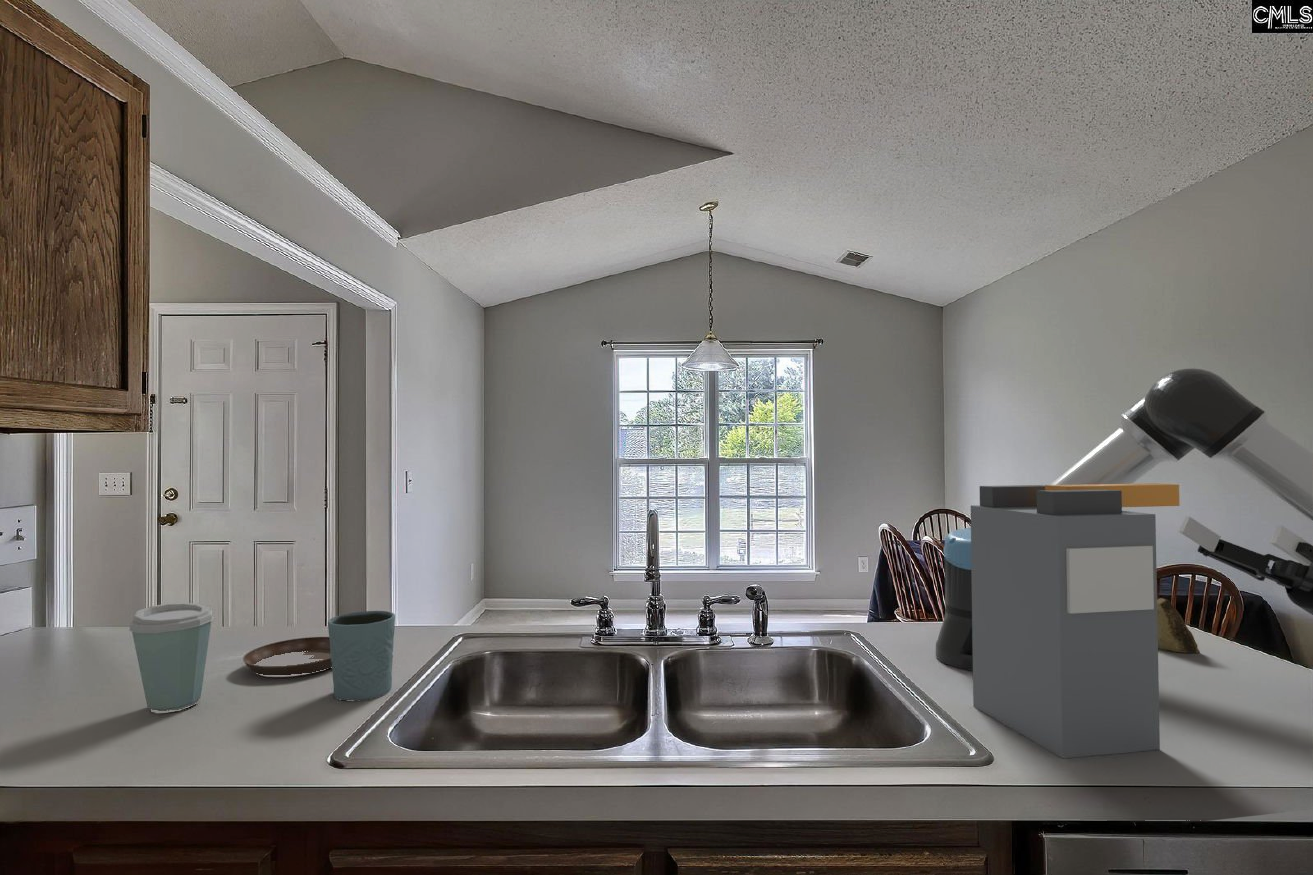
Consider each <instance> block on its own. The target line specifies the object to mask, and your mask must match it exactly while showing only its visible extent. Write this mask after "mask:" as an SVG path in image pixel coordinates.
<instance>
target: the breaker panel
mask: <svg viewBox="0 0 1313 875" xmlns="http://www.w3.org/2000/svg"><path fill="white" fill-rule="evenodd" d="M1045 485H1046V484H1033V485H1032V484H1030V485H1028V484H1027V485H1025V484H1023V485H1022V484H1021V485H1020V484H1019V485H1018V484H1017V485H979V505H977V504H976V505H970V528H971V572H972V643H973V671H972V692H973V693H972V694H973V695H972V696H973V697H972V701H973V703H972V706H973V707H974V708H976V709H977V710H980V711H981V712H983V713H984V714H986V715H988V716H989V717H991V718H993V719H994V720H996V721H998V722H1000V723H1001V724H1003V725H1005V726H1006V727H1008V728H1010V729H1011V730H1013V731H1015V732H1017V733H1018V734H1020V735H1022V736H1024V738H1027V739H1029V740H1031V741H1032V742H1033V743H1035V744H1037V745H1039V746H1041V747H1042V748H1044V749H1045V750H1047V751H1049V752H1051V753H1052V754H1054V755H1056V756H1058V758H1059V757H1060V758H1061V759H1071V758H1084V757H1093V756H1102V755H1103V756H1105V755H1114V754H1124V753H1125V754H1126V753H1136V752H1138V753H1139V752H1148V751H1159V750H1161V745H1160V744H1161V742H1160V732H1161V731H1160V686H1159V676H1160V675H1159V648H1158V623H1157V600H1158V585H1157V584H1158V583H1157V578H1158V577H1157V531H1156V530H1157V529H1156V527H1157V526H1156V523H1157V522H1156V513H1147V512H1137V511H1128V510H1123V507H1122V491H1120V490H1105V489H1096V490H1045Z"/></svg>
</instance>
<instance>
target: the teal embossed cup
mask: <svg viewBox="0 0 1313 875" xmlns="http://www.w3.org/2000/svg"><path fill="white" fill-rule="evenodd" d="M395 628H396V614H395V613H394V612H392V611H387V610H365V611H356V612H351V613H345V614H343V613H342V614H341V615H336V616H334V617H330V619H328V620H327V631H328V637H329V639H330V653H331V662H332V668H331V672H332V673H331V674H332V681H333V695H334V698H335V697H336V698H338V699H341V700H362V701H368V699H369V700H372V699H371V698H374V699H376V697H377V698H379V697H378V696H380V697H382V696H384V695H387V694H388V693H390V691H391V690H392V686H393V675H392V674H393V660H394V659H393V658H394V655H393V653H394V639H395V638H394V637H395ZM386 693H387V694H386ZM336 698H335V699H336ZM338 699H337V700H338ZM341 700H340V701H341Z"/></svg>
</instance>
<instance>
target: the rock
mask: <svg viewBox="0 0 1313 875" xmlns="http://www.w3.org/2000/svg"><path fill="white" fill-rule="evenodd" d="M1157 623H1158V649H1161V650H1167V651H1170V652H1171V651H1172V652H1175V653H1185V654H1186V653H1187V654H1200V652H1201V651H1200V650H1199V648H1198V647H1199V646H1198V643H1197V642H1196V640H1195V637H1194V635H1193V633H1192V632H1191V630H1190V629H1189V628H1188V627H1187V624H1186V622H1185V621H1184V619H1183V617H1182V615H1181V614H1180V613H1179V611H1178V610H1177V608H1175V606H1174V605H1173V604H1172V603H1171V601H1170V600H1169V599H1165V598H1163V597H1160V598H1157Z"/></svg>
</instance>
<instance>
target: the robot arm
mask: <svg viewBox="0 0 1313 875" xmlns="http://www.w3.org/2000/svg"><path fill="white" fill-rule="evenodd" d="M1120 416H1121V417H1120V427H1118V428H1117V429H1116V430H1115V431H1114V432H1112V433H1111V434H1110V435H1109V436H1108V437H1107V438H1105V439H1104V440H1103V441H1101V442H1100V443H1099V444H1098V445H1097V446H1096V447H1093V449H1092V450H1090V451H1089V452H1087V454H1085V455H1084V456H1083V457H1082V458H1081V459H1079V460H1078V461H1077V462H1076V463H1074V464H1073V465H1072V466H1071V467H1069V469H1067V470H1066V471H1064V472H1063V473H1062V474H1061V475H1060V476H1059V477H1057V478H1056V479H1054V481H1053V482H1051V483H1050V484H1049V485H1085V484H1135V482H1137V481H1138V480H1140V479H1141V478H1142V477H1143V476H1145V475H1146V474H1147V473H1149V471H1151V470H1152V469H1154V468H1155V467H1156V466H1158V465H1159V464H1160V463H1163V462H1172V463H1174V462H1178V461H1180V460H1181V459H1183V458H1184V457H1185V456H1186V455H1188V454H1189V453H1191V452H1192V451H1193V450H1194V449H1197V450H1198V451H1199V452H1201V453H1202V454H1203V455H1205V456H1206V457H1208V458H1209V459H1211V460H1223V461H1225V462H1227V463H1228V464H1230V465H1231V466H1232V467H1233V468H1235V469H1237V470H1238V471H1239V472H1241V473H1242V474H1244V475H1245V476H1247V477H1248V478H1249V479H1251V480H1252V481H1253V482H1255V483H1257V484H1258V485H1259V486H1261V487H1263V489H1265V490H1267V492H1270V493H1271V494H1272V495H1273V496H1275V497H1277V499H1279V500H1280V501H1282V502H1284V504H1286V505H1287V506H1289V507H1290V508H1292V509H1293V510H1295V511H1296V512H1298V514H1301V515H1302V516H1303V517H1304V518H1306V519H1307V520H1308V521H1310V522H1311V523H1313V452H1312V451H1311V450H1309V449H1307V447H1305V446H1303V445H1302V444H1300V443H1299V442H1297V441H1296V440H1294V439H1293V438H1291V437H1290V436H1289V435H1287V434H1285V433H1284V432H1283V431H1281V430H1279V429H1278V428H1276V427H1275V426H1274V425H1272V424H1271V423H1269V421H1268V413H1267V412H1266V411H1265V410H1263V409H1261V407H1259V406H1257V405H1256V404H1254V403H1253V402H1251V401H1250V400H1249V399H1248V398H1246V397H1245V396H1244V395H1243V394H1241V393H1240V392H1239V391H1237V389H1235V388H1234V387H1233V386H1232V385H1231V384H1230V383H1229V382H1228V381H1226V379H1224V378H1222V377H1221V376H1220V375H1218V374H1216V373H1214V372H1212V371H1209V370H1207V369H1201V368H1195V367H1194V368H1192V367H1191V368H1183V369H1177V370H1173V371H1172V372H1169V373H1166V374H1165V375H1163V376H1161V377H1160V378H1159V379H1158V380H1156V382H1155V383H1154V384H1153V385H1151V387H1150V389H1149V391H1148V392H1147V393H1146V394H1144V395H1143V396H1142V397H1141V398H1140V399H1138V400H1137V401H1136V402H1134V404H1132V405H1131V406H1130V407H1129V408H1128V409H1126V410H1125V411H1124V412H1122V414H1121V415H1120ZM1177 532H1178V533H1180V534H1182V535H1183V536H1184V537H1186V538H1188V539H1189V540H1191V541H1193V543H1196V544H1197V545H1199V546H1198V548H1197V552H1198V553H1199V554H1202V555H1203V556H1204V557H1205V558H1207V557H1209V558H1212V559H1213V560H1216V561H1218V562H1220V563H1223V564H1224V565H1227V566H1229V567H1230V568H1231V567H1232V568H1233V569H1236V570H1238V571H1240V572H1243V573H1245V574H1247V575H1249V576H1251V577H1252V578H1254V579H1255V580H1258V581H1261V582H1264V581H1265V579H1267V580H1270V581H1273V582H1275V583H1276V584H1277V585H1279V586H1282V587H1284V590H1285V593H1286V594H1287V598H1289V600H1290V601H1291V602H1292V603H1293V604H1295V605H1296V606H1297V607H1299V608H1300V609H1302V610H1304V611H1305V612H1306V613H1308V614H1309V615H1312V616H1313V544H1312V543H1310V542H1308V541H1307V540H1305V539H1303V537H1301V536H1299V535H1298V534H1296V533H1295V532H1293V531H1292V530H1290V529H1289V528H1287V527H1286V526H1284V525H1276V527H1275V530H1274V531H1273V534H1272V536H1271V538H1270V541H1269V544H1271V545H1272V546H1274V547H1276V548H1277V549H1279V550H1280V551H1282V552H1283V553H1285V554H1286V555H1288V556H1289V557H1291V558H1292V559H1294V560H1295V561H1294V560H1292V559H1285V558H1282V557H1279V556H1276V555H1273V554H1271V553H1266V554H1262V553H1259V552H1256V551H1254V550H1250V549H1248V548H1246V547H1242V546H1240V545H1237V544H1234V543H1232V542H1229V541H1227V540H1224V539H1221V536H1220V535H1219V534H1218V533H1216V532H1214V531H1213V530H1211V529H1209V528H1208V527H1206V526H1205V525H1203V524H1202V523H1201V522H1199V521H1197V520H1196V519H1195V518H1193V517H1191V516H1185V517H1184V518H1183V521H1182V523H1181V526H1180V527H1179V530H1178V531H1177ZM943 556H944V599H945V601H944V602H945V605H944V606H945V609H944V610H945V611H944V613H945V614H944V618H943V621H942V625H941V628H940V631H939V634H938V637H937V640H936V642H935V658H936V659H937V660H939V661H940V662H941V663H944V664H946V665H948V666H951V667H955V668H958V669H962V670H966V671H967V670H968V671H972V672H973V643H972V572H971V527H967V528H966V527H965V528H963V529H962V528H961V529H959V528H958V529H955V530H953V531H950V532H948V534H947V535H946V536H945V539H944V546H943ZM1270 561H1271V562H1273V563H1272V566H1271V568H1270V565H1269V564H1270Z"/></svg>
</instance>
